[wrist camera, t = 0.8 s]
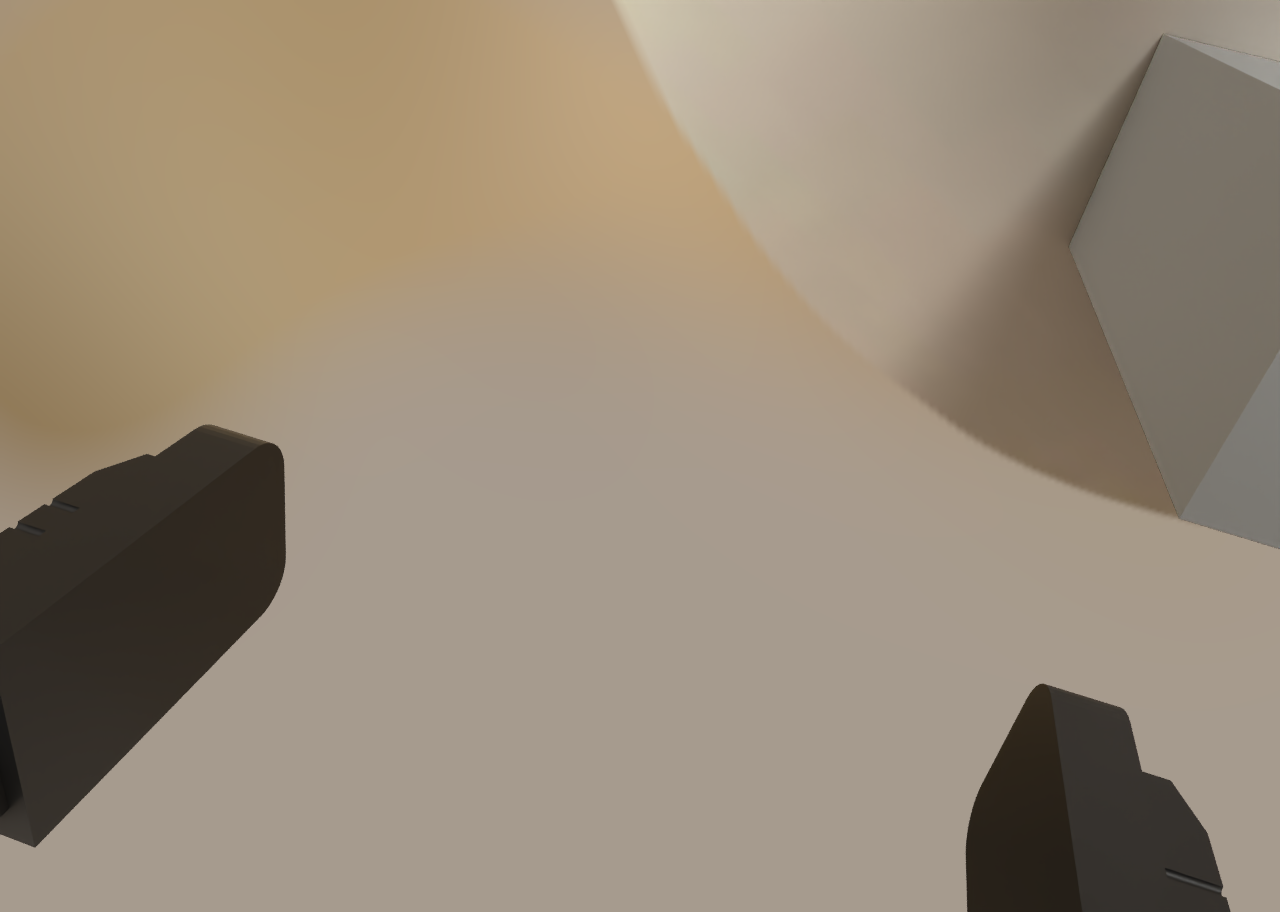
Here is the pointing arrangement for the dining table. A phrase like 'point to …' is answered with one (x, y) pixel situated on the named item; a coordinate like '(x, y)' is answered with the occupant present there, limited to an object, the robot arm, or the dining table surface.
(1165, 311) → the grey block
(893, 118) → the dining table surface
